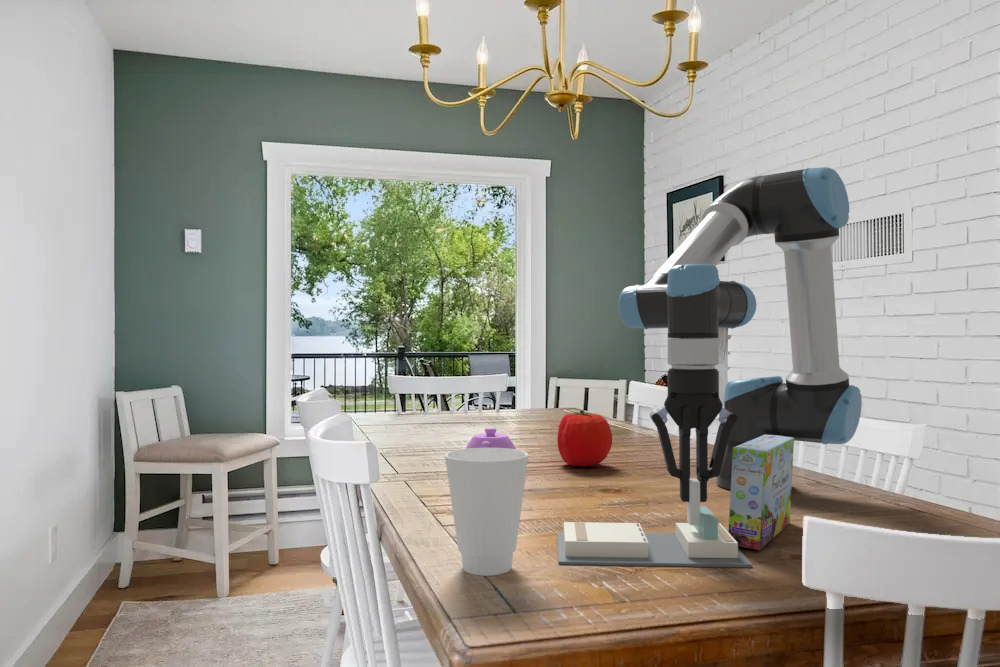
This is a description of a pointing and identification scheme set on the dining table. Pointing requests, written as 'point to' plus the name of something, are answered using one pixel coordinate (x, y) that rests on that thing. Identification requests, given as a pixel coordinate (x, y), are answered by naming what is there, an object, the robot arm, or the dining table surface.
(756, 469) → the snack box
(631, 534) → the board
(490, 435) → the teapot
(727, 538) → the stub
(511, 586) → the dining table surface
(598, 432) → the tomato
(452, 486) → the cup
